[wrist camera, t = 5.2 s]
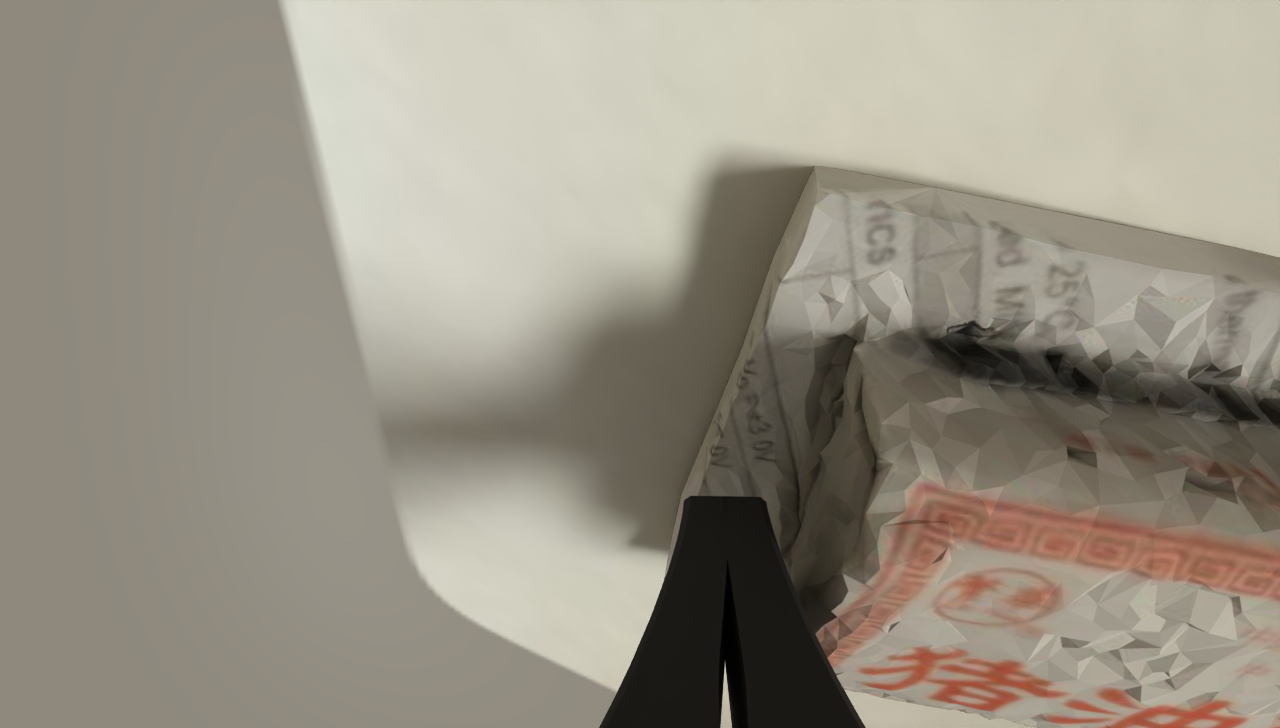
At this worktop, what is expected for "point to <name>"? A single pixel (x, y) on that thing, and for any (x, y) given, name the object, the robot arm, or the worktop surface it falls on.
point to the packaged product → (1016, 457)
